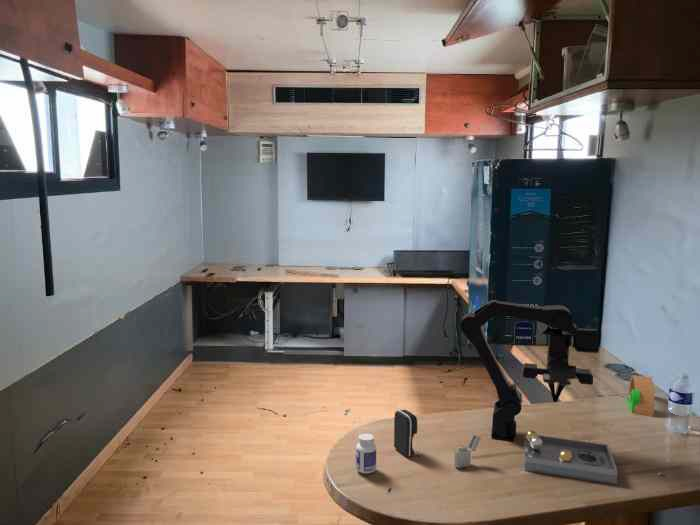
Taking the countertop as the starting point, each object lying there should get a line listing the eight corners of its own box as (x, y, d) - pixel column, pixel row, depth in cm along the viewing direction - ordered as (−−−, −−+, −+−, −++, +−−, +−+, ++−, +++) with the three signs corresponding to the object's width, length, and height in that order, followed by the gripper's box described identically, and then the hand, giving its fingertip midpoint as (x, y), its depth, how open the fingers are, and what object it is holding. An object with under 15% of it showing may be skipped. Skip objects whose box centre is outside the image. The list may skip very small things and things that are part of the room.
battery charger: (418, 454, 147) (419, 415, 146) (407, 457, 145) (408, 418, 144) (403, 444, 153) (404, 406, 152) (392, 447, 152) (393, 409, 150)
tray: (524, 470, 140) (525, 457, 139) (523, 445, 154) (524, 433, 153) (616, 485, 133) (617, 471, 133) (606, 457, 148) (607, 444, 147)
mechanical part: (651, 418, 174) (654, 395, 173) (631, 415, 176) (633, 392, 175) (645, 405, 185) (647, 383, 184) (626, 402, 188) (628, 380, 187)
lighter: (457, 468, 140) (458, 439, 139) (453, 465, 142) (454, 436, 141) (479, 463, 143) (481, 435, 142) (476, 460, 145) (477, 432, 144)
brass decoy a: (529, 446, 149) (523, 435, 150) (530, 441, 152) (523, 431, 153) (540, 441, 148) (533, 430, 148) (540, 436, 151) (534, 426, 152)
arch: (646, 397, 192) (649, 370, 190) (653, 417, 173) (656, 388, 172) (628, 394, 194) (630, 367, 193) (633, 414, 176) (636, 385, 174)
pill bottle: (378, 466, 141) (379, 434, 140) (371, 475, 136) (372, 443, 135) (360, 462, 143) (361, 430, 142) (352, 471, 138) (353, 438, 137)
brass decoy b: (558, 465, 138) (559, 452, 137) (557, 459, 141) (558, 447, 141) (572, 467, 137) (573, 454, 136) (571, 461, 140) (572, 448, 140)
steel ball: (539, 453, 146) (531, 445, 149) (547, 444, 146) (538, 435, 148) (533, 450, 144) (525, 442, 147) (541, 441, 144) (532, 432, 146)
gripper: (524, 354, 147) (521, 408, 149) (598, 361, 142) (593, 417, 144) (524, 344, 158) (521, 394, 160) (592, 350, 153) (588, 402, 154)
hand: (554, 401), depth 154 cm, fingers closed
